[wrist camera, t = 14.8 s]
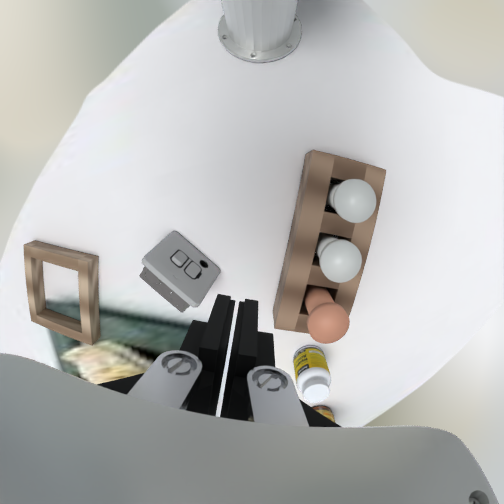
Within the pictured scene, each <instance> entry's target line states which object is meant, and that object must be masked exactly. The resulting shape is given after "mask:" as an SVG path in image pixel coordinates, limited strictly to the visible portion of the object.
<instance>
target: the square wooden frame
mask: <svg viewBox="0 0 504 504" xmlns="http://www.w3.org/2000/svg"><path fill="white" fill-rule="evenodd" d="M42 261H45V262H48V263H52V264H55V265H58V266H62V267H65V268H69V269H72V270H76V271H78V277H79V300H80V314H81V321H79V320H76V319H73V318H70V317H68V316H65V315H62V314H59V313H57V312H54V311H52V310H49V309H47V308H46V303H45V293H44V282H43V267H42ZM24 262H25V275H26V286H27V294H28V302H29V309H30V315H31V321H33V322H35V323H37V324H39V325H42V326H44V327H46V328H48V329H51V330H53V331H56V332H58V333H60V334H63V335H65V336H68V337H70V338H73V339H76V340H78V341H81V342H84V343H86V344H89V345H93V344H94V343H95V342H96V341H97V340H98V339H99V338H100V337H101V335H100V320H99V297H98V256H95V255H91V254H87V253H83V252H79V251H74V250H70V249H66V248H62V247H58V246H54V245H51V244H47V243H43V242H39V241H32V242H29V243H27V244H24Z"/></svg>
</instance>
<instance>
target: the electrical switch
mask: <svg viewBox="0 0 504 504" xmlns="http://www.w3.org/2000/svg"><path fill="white" fill-rule="evenodd" d="M142 264H143V265H144V266H145V267H144V268H143V271H142V273H141V274H140V277H141V278H142V279H143V280H144V281H145V282H146V283H147V284H149V285H150V286H151V287H152V288H153V289H154V290H155V291H157V292H158V293H159V294H160V295H161V296H162V297H164V298H165V299H166V300H167V301H168V302H170V303H171V304H172V305H173V306H174V307H176V308H177V309H178V310H179V311H180V312H184V311H185V310H186V308H188V307H189V306H190V305H191V306H192V307H198V306H199V305H200V304H201V302H202V300H203V299H204V297H205V296H206V294H207V292H208V291H209V289H210V288H211V286H212V284H213V283H214V281H215V279H216V278H217V276H218V275H219V273H220V270H219V268H218V267H217V266H216V265H215V264H213V263H212V262H211V261H210V260H209V259H208V258H206V257H205V256H204V255H203V254H202V253H201V252H200V251H198V250H197V249H196V248H195V247H194V246H193V245H191V244H190V243H189V242H188V241H187V240H186V239H185V238H183V237H182V236H181V235H180V234H179V233H178V232H176V231H173V232H171V233H170V234H169V235H168V236H167V237H165V238H164V239H163V240H162V241H161V242H160V243H159V244H158V245H156V246H155V247H154V248H153V249H152V250H151V251H150V252H149V253H147V254H146V255H145V256H144V258H143V259H142ZM145 275H146V276H145ZM157 283H158V284H157ZM160 283H161V284H160ZM172 291H173V292H172ZM171 292H172V293H171ZM170 293H171V294H170ZM177 305H178V306H177Z"/></svg>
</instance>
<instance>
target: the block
mask: <svg viewBox="0 0 504 504" xmlns="http://www.w3.org/2000/svg"><path fill="white" fill-rule="evenodd" d="M385 174H386V170H385V169H382V168H378V167H375V166H372V165H369V164H365V163H362V162H358V161H355V160H351V159H347V158H344V157H340V156H336V155H332V154H328V153H324V152H320V151H316V150H312V151H310V152H309V153H307V154H306V156H305V161H304V166H303V171H302V177H301V182H300V187H299V192H298V197H297V202H296V207H295V212H294V217H293V221H292V226H291V231H290V236H289V240H288V245H287V250H286V254H285V259H284V263H283V268H282V272H281V277H280V281H279V286H278V290H277V294H276V299H275V303H274V307H273V318H274V328H275V329H281V330H288V331H295V332H302V333H309V330H308V326H307V319H308V316H309V314H308V311H307V308H306V305H305V302H304V299H303V297H304V293H305V290H306V286H307V284H310V285H316V286H322V287H326V289H327V290H328V292H329V294H330V296H331V297H332V299H333V301H334V303H337V304H339V305H340V306H342V307H343V308H344V310H345V311H346V313H347V315H348V317H349V315H350V312H351V309H352V306H353V303H354V300H355V296H356V293H357V290H358V287H359V283H360V280H361V276H362V273H363V269H364V266H365V262H366V259H367V255H368V251H369V247H370V243H371V239H372V235H373V231H374V227H375V223H376V219H377V214H378V210H379V205H380V200H381V195H382V190H383V185H384V180H385ZM348 179H360V180H363V181H365V182H367V183H368V184H369V185H370V186H371V187H372V188H373V190H374V192H375V195H376V207H375V210H374V212H373V214H372V215H371V216H370V217H369V218H368V219H367V220H365V221H363V222H360V223H352V222H349V221H347V220H345V219H343V218H341V217H340V216H339V215H338V214H337V212H335V211H331V210H326V209H325V204H326V199H327V195H328V190H329V185H330V180H334V181H338V182H343V181H345V180H348ZM319 232H323V233H328V234H333V235H337V236H338V239H344V240H347V241H349V242H351V243H352V244H354V245H355V246H356V247H357V248H358V249H359V251H360V253H361V257H362V264H361V268H360V270H359V272H358V273H357V275H356V276H355V277H354V278H352V279H351V280H349V281H347V282H343V283H337V282H333V281H331V280H329V279H328V278H327V277H326V276H325V275H324V273H323V272H322V270H321V268H320V264H319V257H318V256H315V255H314V253H315V249H316V245H317V241H318V236H319ZM309 334H310V333H309Z"/></svg>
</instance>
